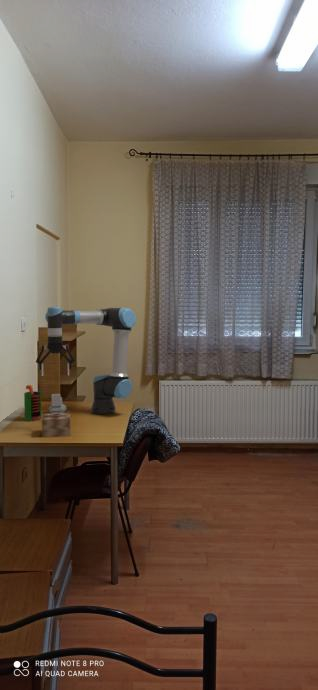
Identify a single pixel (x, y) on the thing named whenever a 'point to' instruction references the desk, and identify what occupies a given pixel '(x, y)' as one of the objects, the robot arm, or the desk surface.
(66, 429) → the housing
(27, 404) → the motor
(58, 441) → the desk surface
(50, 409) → the air freshener
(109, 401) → the robot arm
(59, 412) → the column
